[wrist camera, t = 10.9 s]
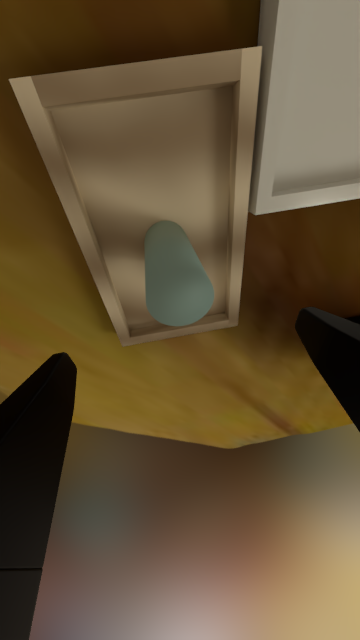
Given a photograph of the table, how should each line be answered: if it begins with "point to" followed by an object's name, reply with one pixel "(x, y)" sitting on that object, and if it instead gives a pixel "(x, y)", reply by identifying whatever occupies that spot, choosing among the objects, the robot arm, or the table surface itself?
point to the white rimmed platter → (307, 105)
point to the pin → (174, 277)
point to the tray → (152, 170)
